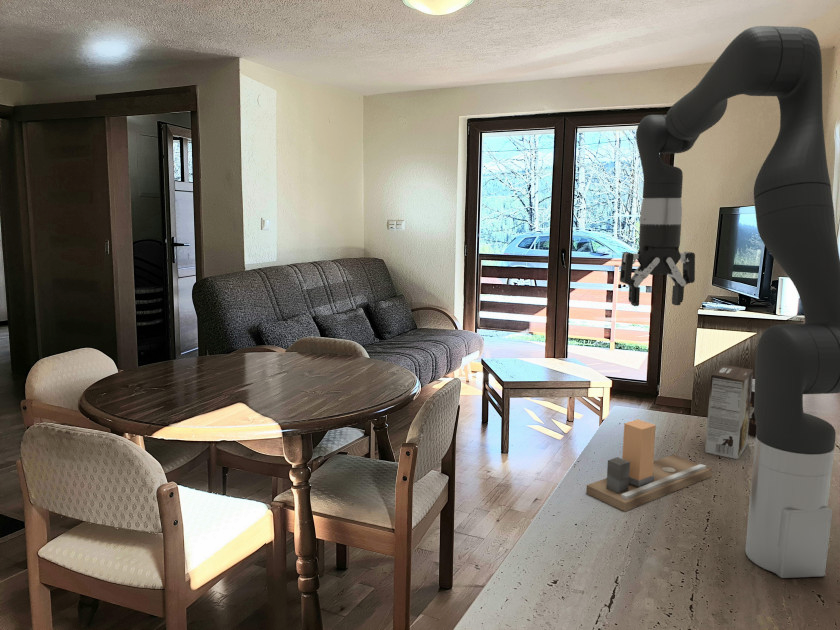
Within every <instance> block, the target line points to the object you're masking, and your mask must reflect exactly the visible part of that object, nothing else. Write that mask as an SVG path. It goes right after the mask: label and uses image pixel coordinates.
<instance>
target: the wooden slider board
mask: <svg viewBox="0 0 840 630" xmlns="http://www.w3.org/2000/svg"><path fill="white" fill-rule="evenodd" d="M629 470H630V462H629V461H626V460H624V459H622V457H618V456H617V457H614V458H611V459H608V460H607V471H606V477H605V478H603V479H600V480H598V481H595V482H594V481H593V482H592V483H589V484H586V492H585V493H586V494H587V495H589V496H591V497H593V498H594V499H597V500H599V501H601V502H604V503H605V504H607V505H609V506H612V507H614V508H615V509H618V510H620V511H622V512H628V511H630V510H632V509H635V508H637V507H641V506H642V505H645V504H647V503H649V502H652V501H654V500H657V499H660V498H662V497H665V496H667V495H669V494H672V493H674V492H676V491H679V490H681V489H684V488H686V487H689V486H691V485H695V484H696V483H699V482H701V481H703V480H706V479H709V478H711V477H712V474H713V468H711V467H709V466H707V465H705V464H703V463H698V462H694V461H692V460H689V459H687V458H684V457H681V456H678V455H675V454H672V455H671V454H670V455H667V456H665V457H662V458H660V459H657V460H654V461H653V475H654V481H653V482H651V483H648V484H645V485H643V486H640V487H638V486H635V485H633V484H631V483H629Z"/></svg>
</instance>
